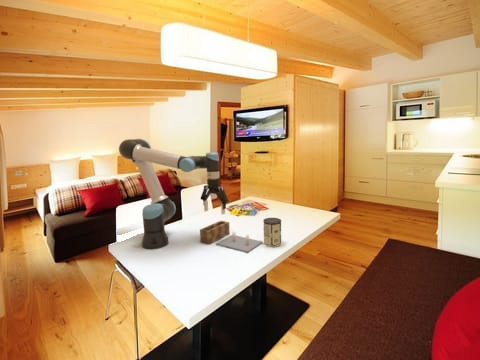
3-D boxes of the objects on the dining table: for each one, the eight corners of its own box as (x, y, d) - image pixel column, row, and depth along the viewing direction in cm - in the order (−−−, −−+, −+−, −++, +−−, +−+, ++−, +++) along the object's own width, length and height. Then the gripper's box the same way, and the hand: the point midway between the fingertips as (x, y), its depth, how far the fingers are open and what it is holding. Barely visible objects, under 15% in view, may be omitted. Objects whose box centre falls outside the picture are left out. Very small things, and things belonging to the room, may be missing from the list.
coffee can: (270, 238, 165) (270, 216, 162) (284, 242, 158) (284, 219, 155) (260, 243, 157) (259, 220, 155) (274, 248, 150) (274, 224, 148)
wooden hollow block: (209, 244, 157) (208, 231, 156) (200, 242, 161) (199, 229, 160) (229, 234, 174) (229, 222, 172) (221, 232, 178) (220, 220, 176)
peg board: (216, 244, 157) (215, 234, 156) (232, 236, 170) (231, 226, 169) (247, 253, 145) (247, 241, 144) (262, 243, 158) (262, 232, 157)
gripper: (193, 177, 165) (195, 211, 169) (225, 180, 151) (227, 216, 155) (202, 176, 171) (203, 208, 175) (233, 178, 157) (234, 213, 161)
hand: (214, 212), depth 165 cm, fingers open, 13 cm apart
